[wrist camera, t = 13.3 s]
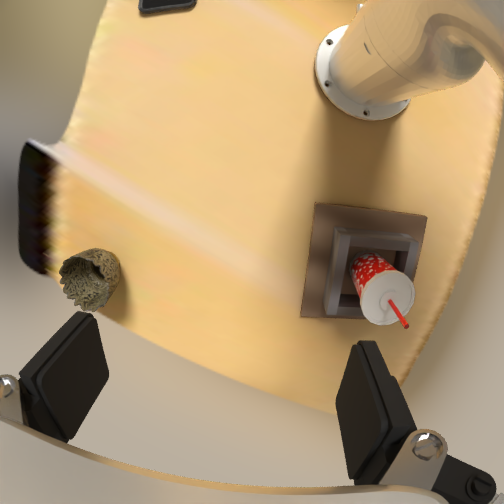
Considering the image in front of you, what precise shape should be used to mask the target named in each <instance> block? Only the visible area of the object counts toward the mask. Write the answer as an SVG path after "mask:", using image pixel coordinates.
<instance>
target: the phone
mask: <svg viewBox="0 0 504 504" xmlns="http://www.w3.org/2000/svg"><path fill="white" fill-rule="evenodd" d="M196 3H197V0H139V5H138V8H139V10H140V11H141V12H142V13H144V14H148V13H154V12H161V11H168V10H176V9H185V8H191V7H193V6H194V5H195V4H196ZM165 9H167V10H165Z"/></svg>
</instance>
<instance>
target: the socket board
mask: <svg viewBox="0 0 504 504" xmlns="http://www.w3.org/2000/svg"><path fill="white" fill-rule="evenodd" d="M426 222H427V217H426V216H423V215H416V214H409V213H402V212H394V211H387V210H379V209H371V208H362V207H354V206H345V205H336V204H326V203H316V202H315V208H314V217H313V225H312V234H311V242H310V250H309V258H308V265H307V272H306V280H305V287H304V294H303V300H302V307H301V316H305V317H324V318H347V319H367V318H366V317H365V316H364V314H363V312H362V308H361V305H360V298H359V295H358V293H357V290H356V288H355V285H354V283H353V280H352V278H351V275H350V272H349V266H350V262H351V260H352V258H353V257H354V256H355V255H356V254H357V253H359V252H362V251H364V250H372V251H374V252H376V253H378V254H379V255H380V256H381V257H382V258H384V259H385V260H386V261H387V262H388V263H389V264H391V265H392V266H393V267H394V268H395V269H396V270H397V271H399V272H401V273H404V274H405V275H406V276H407V277H408V278H409V279H410V280H411V282H412V283H413V281H414V277H415V273H416V269H417V265H418V260H419V256H420V252H421V247H422V243H423V238H424V233H425V228H426Z"/></svg>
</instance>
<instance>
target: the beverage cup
mask: <svg viewBox="0 0 504 504" xmlns="http://www.w3.org/2000/svg"><path fill="white" fill-rule="evenodd" d="M349 272H350V275H351V278H352V280H353V283H354V285H355V288H356V290H357V293H358V295H359V298H360V305H361V308H362V312H363V314H364V316H365V317H366V318H367V319H368V320H369V321H370V322H371V323H374V324H377V325H390V324H392V323H394V322H397V321H399V320H400V322H401V323H402V325H403V326H404V328H405V329H407V328H408V327H409V325H408V323H407V322H406V320H405V319H404V316H405V315H406V314H407V313H408V312H409V310H410V308H411V307H412V305H413V303H414V298H415V289H414V284H413V283H412V282H411V280H410V279H409V278H408V277H407V276H406V275H405V274H404V273H401V272H399V271H397V270H396V269H395V268H394V267H393V266H392V265H391V264H389V263H388V262H387V261H386V260H385V259H384V258H382V257H381V256H380V255H379V254H378V253H376V252H374V251H372V250H364V251H362V252H359V253H357V254H356V255H355V256H354V257H353V258H352V260H351V262H350V266H349Z"/></svg>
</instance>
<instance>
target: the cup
mask: <svg viewBox="0 0 504 504" xmlns="http://www.w3.org/2000/svg"><path fill="white" fill-rule="evenodd" d="M59 274H60V275H61V276H62V277H63V278H61V280H60V284H64V283H66V284H65V285H64V288H63V292H64V293H65V294H67V298H68V299H75V302H74V305H75V306H76V305H80V306H81V309H82V310H83V311H92V312H95V311H96V310H97V309H98V308H99V307H102V306H103V307H104V306H105V304H106V302H107V301H108V299H109V298H110V296H111V295H112V293H113V292H114V290H115V288H116V287H117V284H118V282H119V278H120V270H119V260H118V258H117V257H116V255H115V254H113V253H112V252H109V251H105V250H103V249H98V248H95V249H89V250H86V251H83V252H81V253H79V254H76V255H74V256H72V257H70V258H69V259H67V260H65V261H64V262H63V266H62V267H61V268H60V271H59Z"/></svg>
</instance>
